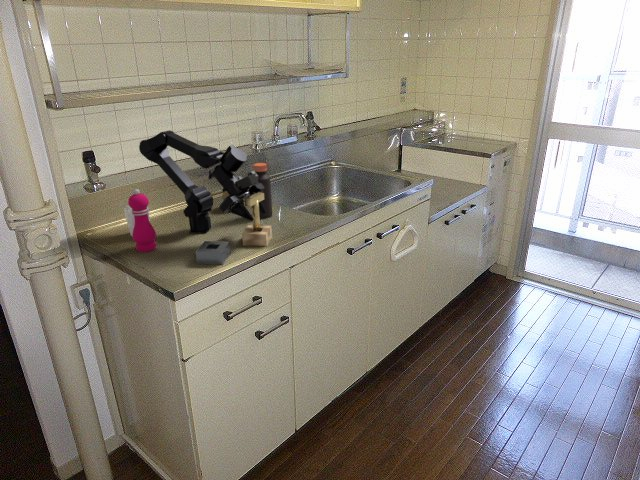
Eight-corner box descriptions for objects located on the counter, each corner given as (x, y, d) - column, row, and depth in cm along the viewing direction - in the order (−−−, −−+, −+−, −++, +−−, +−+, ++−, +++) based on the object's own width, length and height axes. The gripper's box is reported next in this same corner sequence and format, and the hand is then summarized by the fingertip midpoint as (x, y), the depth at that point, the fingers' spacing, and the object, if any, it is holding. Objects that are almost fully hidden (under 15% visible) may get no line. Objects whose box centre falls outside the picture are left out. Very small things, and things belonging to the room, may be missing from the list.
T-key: (253, 242, 153) (250, 199, 148) (247, 241, 154) (244, 198, 149) (266, 234, 160) (264, 193, 154) (260, 233, 161) (258, 192, 155)
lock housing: (197, 263, 142) (195, 251, 140) (206, 252, 149) (204, 241, 148) (222, 264, 141) (221, 252, 139) (230, 253, 148) (229, 241, 147)
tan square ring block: (242, 245, 154) (241, 233, 153) (249, 235, 162) (248, 225, 160) (266, 245, 153) (265, 234, 152) (272, 236, 161) (271, 225, 159)
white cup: (129, 239, 161) (124, 212, 157) (128, 232, 168) (123, 205, 164) (153, 235, 164) (149, 208, 160) (151, 228, 170) (147, 202, 167)
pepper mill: (144, 254, 149) (134, 193, 141) (130, 249, 153) (118, 190, 145) (162, 246, 155) (153, 187, 147) (148, 242, 158) (138, 184, 151)
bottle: (264, 211, 185) (261, 161, 178) (276, 215, 181) (273, 164, 173) (251, 215, 181) (247, 164, 173) (262, 219, 177) (258, 167, 169)
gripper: (223, 171, 142) (257, 211, 142) (257, 158, 157) (287, 194, 157) (205, 193, 148) (237, 231, 148) (240, 179, 164) (269, 213, 163)
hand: (259, 216), depth 154 cm, fingers closed on T-key, 7 cm apart
